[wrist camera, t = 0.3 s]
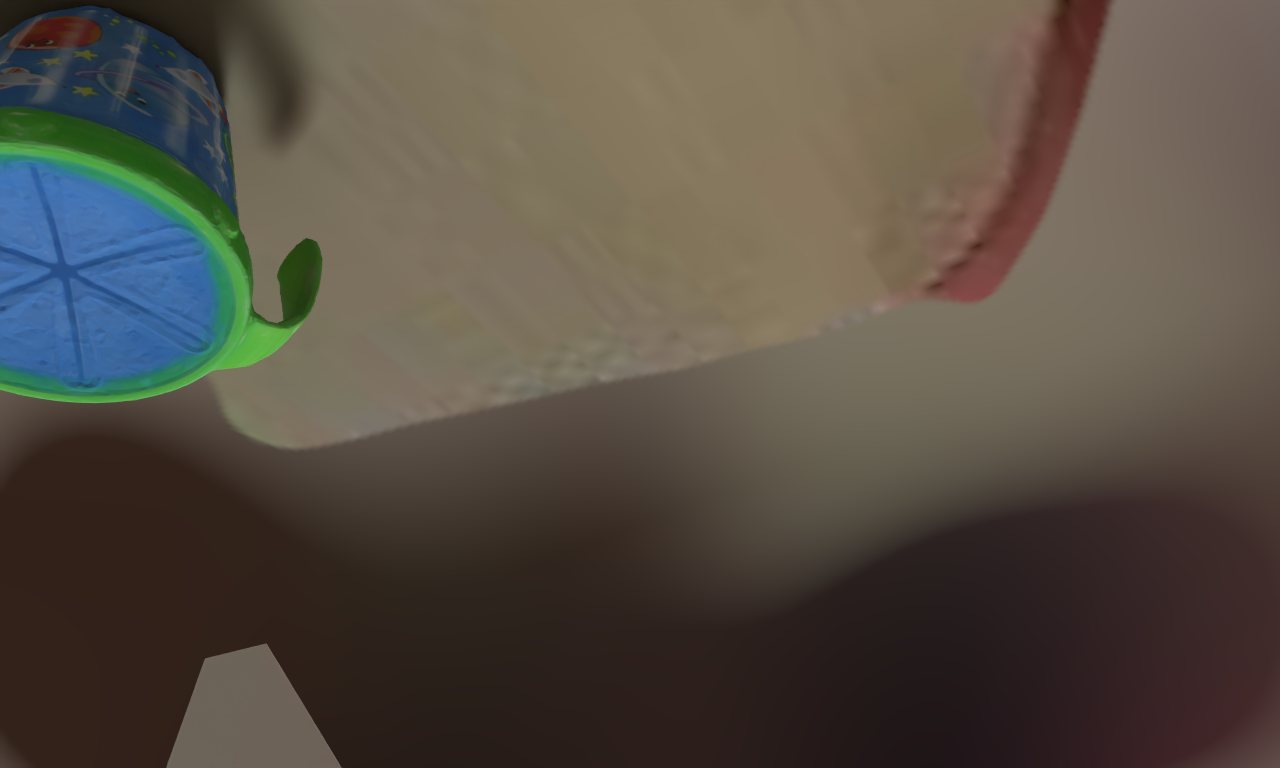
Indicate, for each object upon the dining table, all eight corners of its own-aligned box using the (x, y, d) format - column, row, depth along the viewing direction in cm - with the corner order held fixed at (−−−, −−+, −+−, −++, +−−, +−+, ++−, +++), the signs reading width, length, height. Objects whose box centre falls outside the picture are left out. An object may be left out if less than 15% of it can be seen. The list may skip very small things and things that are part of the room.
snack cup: (387, 138, 38) (387, 321, 31) (225, 285, 42) (196, 474, 35) (-45, -189, 27) (-180, -19, 21) (-204, 48, 31) (-359, 254, 25)
